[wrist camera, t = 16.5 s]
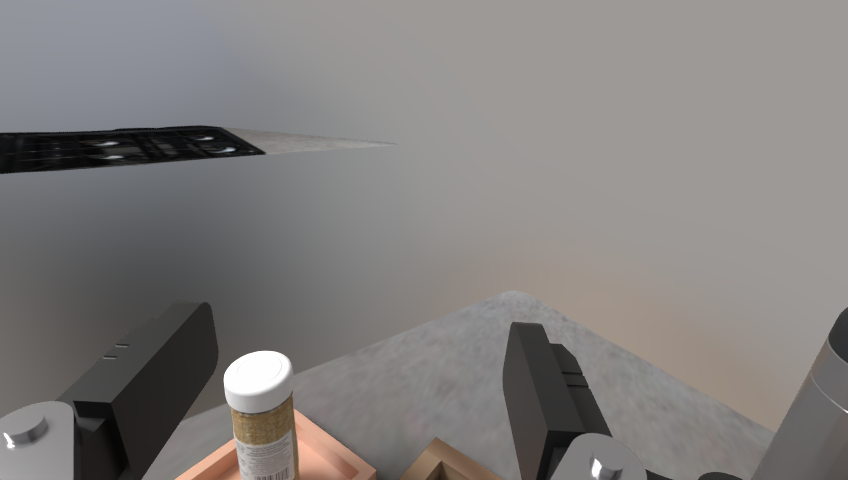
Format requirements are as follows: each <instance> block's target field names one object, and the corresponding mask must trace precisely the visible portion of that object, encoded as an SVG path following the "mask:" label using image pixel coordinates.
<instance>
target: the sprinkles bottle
mask: <svg viewBox="0 0 848 480" xmlns="http://www.w3.org/2000/svg"><path fill="white" fill-rule="evenodd" d="M293 387H294V378H293V369H292V364H291V362H290V360H289V359H288V358H287V357H286V356H284V355H283V354H281V353H278V352H274V351H259V352H254V353H251V354H247V355H245V356H243V357H241V358H240V359H238V360H236V361H235V362H234V363H232V364H231V365H230V366H229V368H228V369H227V371H226V373H225V375H224V388H225V395H226V399H227V402H228V404H229V406H230V408H231V412H232V418H233V426H234V437H235V443H236V449H237V455H238V462H239V468H240V474H241V480H300V476H299V452H298V440H297V434H296V427H295V417H294V408H293V397H292V393H293Z"/></svg>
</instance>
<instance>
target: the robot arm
mask: <svg viewBox="0 0 848 480" xmlns="http://www.w3.org/2000/svg"><path fill="white" fill-rule="evenodd" d="M217 361H218V345H217V339H216V333H215V327H214V321H213V315H212V309H211V306H210V305H209V304H208V303H206V302H193V301H175V302H174V303H172V304H171V305H170V306H169V307H168V308H167V309H166V310H165V311H164V312H163V313H162V314H161V315H160V316H159V317H158V318H157V319H155V318H153V319H150V320H149V321H147V322H145V323H143V324H141V325H139V326H138V327H136V328H134V329H132V330H131V331H130V332H129V333H128V334H126V335H125V336H124V337H123V338H122V339H121V340H120V341H119V342H118V343H117V345H116V347H112V348H111V349H110V350H109V351H108V352H107V353H106V354H105V355H104V358H103V359H100V360H98V361H97V362H96V363H95V364H94V365H93V366H92V367H91V368H90V369H89V370H88V371H87V372H86V373H84V374H83V376H81V377H80V378H79V379H78V380H77V381H76V382H75V383H74V384H73V385H72V386H70V387H69V388H68V389H67V390H66V391H65V392H64V393H63V394H62V395H61V396H60V397H59V398H57V399H56V400H55V401H51V402H50V401H49V402H42V403H37V404H33V405H29V406H27V407H24V408H21V409H19V410H16V411H14V412H12V413H10V414H8V415H6V416H5V417H3V418H1V419H0V480H141V479H142V478H143V476H144V475H145V473H146V472H147V470H148V469H149V467H150V466H151V464H152V463H153V461H154V460H155V458H156V457H157V456H158V454H159V453H160V451H161V450H162V448H163V447H164V445H165V444H166V442H167V441H168V439H169V438H170V436H171V435H172V433H173V432H174V430H175V429H176V428H177V426H178V425H179V423H180V422H181V420H182V419H183V417H184V416H185V414H186V413H187V411H188V410H189V408H190V407H191V405H192V404H193V402H194V401H195V400H196V398H197V397H198V395H199V394H200V392H201V391H202V389H203V388H204V386H205V385H206V383H207V382H208V380H209V379H210V377H211V376H212V374H213V373H214V371H215V368H216V365H217ZM582 374H583V373H582V371H581V368H580V366H579V364H578V362H577V360H576V358H575V357H574V356H573V355H572V354H571V353H570V352H569V351H568V350H567V349H566V348H565V347H564V346H563V345H562V344H551V343H549V340H548V338H547V335H546V333H545V330H544V328H543V326H542V324H538V323H522V322H513V323H512V324H511V327H510V332H509V338H508V344H507V350H506V355H505V361H504V367H503V391H504V396H505V401H506V406H507V411H508V415H509V420H510V425H511V430H512V435H513V439H514V444H515V449H516V454H517V458H518V463H519V468H520V473H521V477H522V480H672V479H669V478H666V477H663V476H660V475H658V474H655V473H652V472H650V471H648V470H646V469H645V468H644V466H643V464H642V462H641V461H640V459H639V458H638V456H637V455H636V454H635V453H634V452H633V451H632V450H631V449H630V448H629V447H627V446H626V445H625V444H623V443H622V442H620V441H618V440H616V439H614V438H613V437H612V435H611V433H610V430H609V428H608V426H607V424H606V422H605V420H604V418H603V416H602V413H601V411H600V409H599V407H598V405H597V403H596V401H595V398H594V396H593V394H592V392H591V390H590V389H589V388H588V383H587V381H586V379H585V377H584V376H583V375H582ZM698 480H742V479H740V478H738V477H735V476H733V475H729V474H726V473H720V472H711V473H706V474H704V475H702V476H701V477H700V478H699V479H698ZM751 480H848V308H846V309H845V310H844V311H843V312H842V313H841V314H840V315H839V317H838V318H837V320H836V322H835V324H834V326H833V327H832V330H831V331H830V333H829V336H828V337H827V339H826V341H825V343H824V345H823V346H822V348H821V350H820V352H819V354H818V356H817V357H816V359H815V361H814V363H813V365H812V367H811V369H810V371H809V373H808V375H807V377H806V379H805V380H804V382H803V384H802V386H801V388H800V390H799V392H798V394H797V396H796V397H795V399H794V401H793V403H792V405H791V407H790V408H789V410H788V412H787V414H786V416H785V418H784V420H783V421H782V423H781V425H780V427H779V429H778V431H777V433H776V434H775V436H774V438H773V440H772V442H771V444H770V446H769V447H768V449H767V451H766V453H765V455H764V457H763V458H762V460H761V462H760V464H759V466H758V467H757V469H756V471H755V473H754V475H753V477H752V479H751Z"/></svg>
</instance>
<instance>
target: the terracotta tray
mask: <svg viewBox="0 0 848 480" xmlns="http://www.w3.org/2000/svg"><path fill="white" fill-rule="evenodd" d="M294 417H295V427H296V434H297V440H298V452H299V476H300V480H376V471H377V470H376V469H374V468H373V467H372V466H370V465H369V464H368V463H366V462H365V461H364V460H362V459H361V458H360V457H358V456H357V455H356V454H354V453H353V452H352V451H350V450H349V449H347V448H346V447H345V446H343V445H342V444H341V443H339V442H338V441H337V440H335V439H334V438H333V437H331V436H330V435H329V434H327V433H326V432H325V431H323V430H322V429H321V428H319V427H318V426H317V425H315V424H314V423H313V422H311V421H310V420H309V419H307V418H306V417H305V416H303V415H302V414H301V413H299V412H298V411H297V410H295V409H294ZM175 480H241V474H240V468H239V462H238V455H237V449H236V443H235V438H234V439H232V440H231V441H229V442H228V443H226V444H225V445H224V446H222V447H221V448H219V449H218V450H216V451H215V452H214V453H212V454H211V455H209V456H208V457H206V458H205V459H204V460H202V461H201V462H199V463H198V464H196V465H195V466H194V467H192V468H191V469H189V470H188V471H186V472H185V473H183V474H182V475H181V476H179V477H178V478H176V479H175Z"/></svg>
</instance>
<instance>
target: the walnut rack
mask: <svg viewBox="0 0 848 480" xmlns="http://www.w3.org/2000/svg"><path fill="white" fill-rule="evenodd" d="M399 480H503V479H502V478H500V477H499V476H497V475H495V474H494V473H492V472H491V471H489V470H487V469H486V468H484V467H483V466H481V465H480V464H478V463H476V462H475V461H473V460H472V459H470V458H468V457H467V456H465V455H464V454H462V453H461V452H459V451H457V450H456V449H454V448H453V447H451V446H449V445H448V444H446V443H445V442H443V441H442V440H440V439H438V438H437V437H436V438H435V439H434V440H433V441H432V442H431V443H430V444H429V445H428V447H427V448H426V449H425V450H424V451H423V452H422V453H421V455H420V456H419V457H418V458H417V459H416V460H415V461H414V463H413V464H412V465H411V466H410V467H409V468H408V469H407V470H406V472H405V473H404V474H403V475H402V476H401V477H400V478H399Z"/></svg>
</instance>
